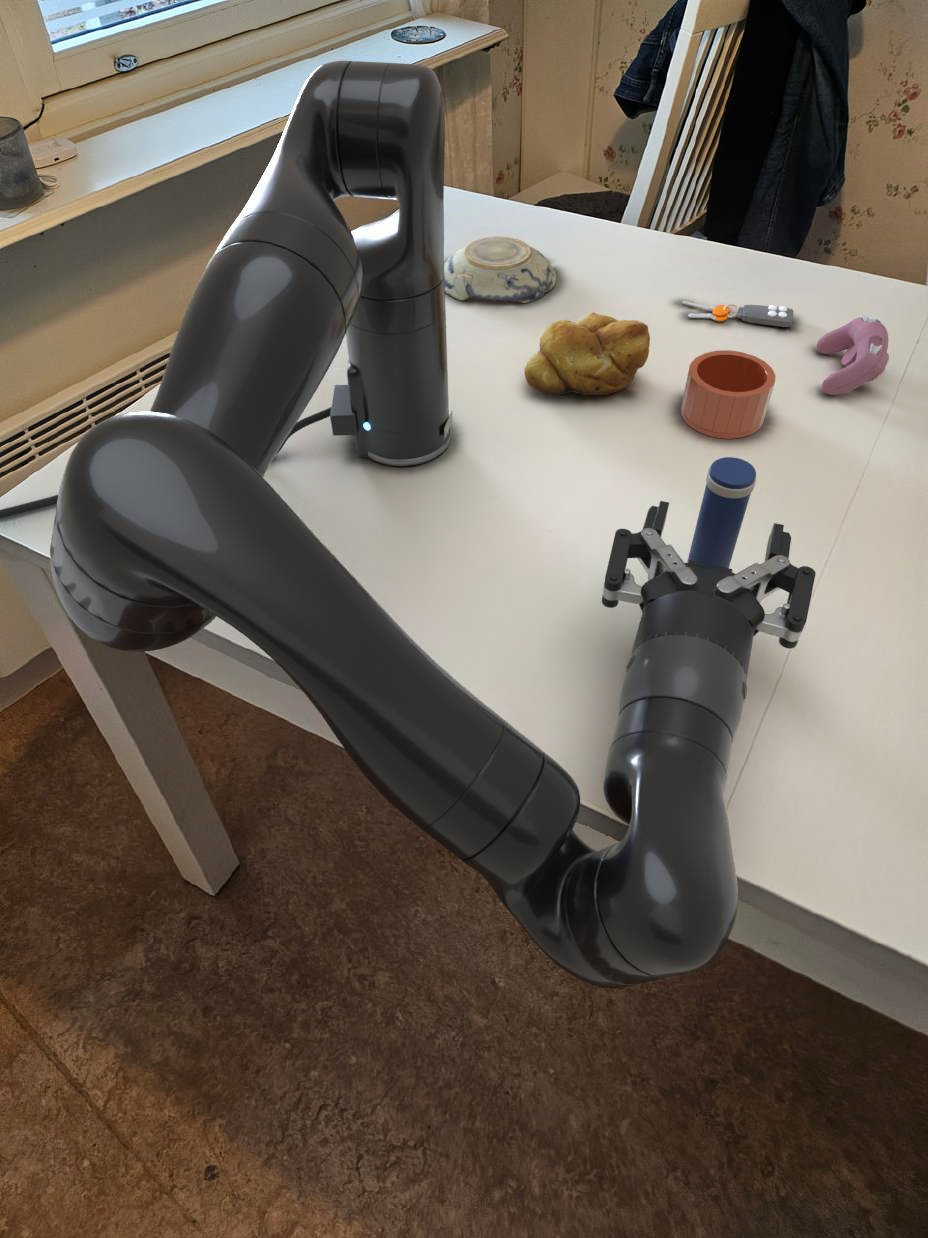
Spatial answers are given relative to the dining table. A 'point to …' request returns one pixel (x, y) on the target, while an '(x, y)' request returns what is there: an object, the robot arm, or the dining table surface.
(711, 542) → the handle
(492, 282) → the decorative bowl
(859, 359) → the video game controller
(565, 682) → the dining table surface
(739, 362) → the holder
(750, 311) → the key chain
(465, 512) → the dining table surface
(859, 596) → the dining table surface
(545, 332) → the bread roll
